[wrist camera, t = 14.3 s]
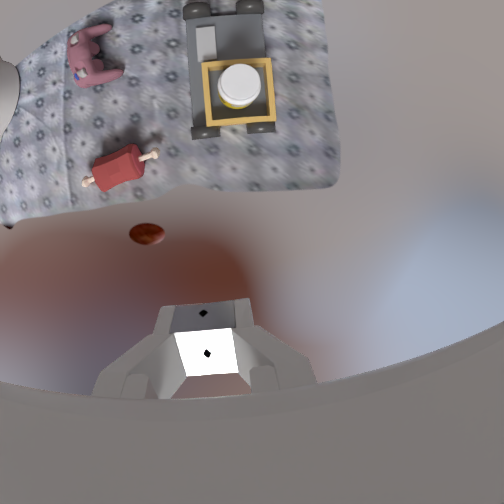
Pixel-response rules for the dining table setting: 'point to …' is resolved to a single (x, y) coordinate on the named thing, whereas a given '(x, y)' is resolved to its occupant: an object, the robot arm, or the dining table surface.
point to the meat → (119, 167)
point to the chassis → (219, 59)
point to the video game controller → (89, 58)
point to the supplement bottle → (238, 86)
